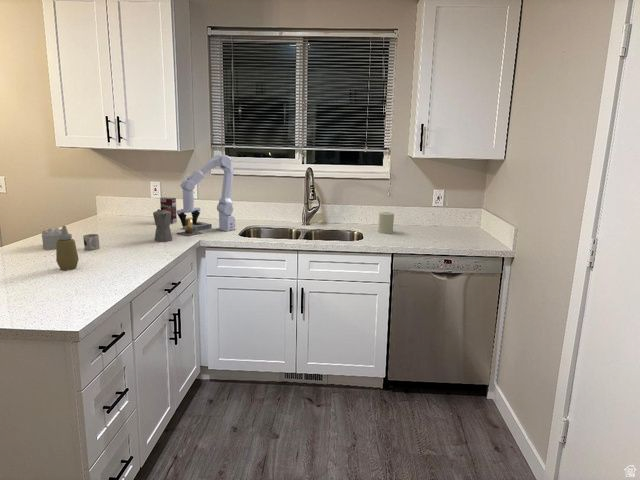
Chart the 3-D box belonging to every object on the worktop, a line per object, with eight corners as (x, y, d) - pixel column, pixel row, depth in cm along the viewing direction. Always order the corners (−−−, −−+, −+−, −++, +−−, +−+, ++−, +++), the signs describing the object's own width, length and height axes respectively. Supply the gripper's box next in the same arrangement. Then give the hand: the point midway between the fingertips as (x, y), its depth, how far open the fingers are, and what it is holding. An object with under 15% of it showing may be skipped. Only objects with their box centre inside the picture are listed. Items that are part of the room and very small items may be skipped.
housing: (211, 228, 272) (211, 224, 271) (195, 231, 263) (195, 226, 262) (199, 225, 279) (199, 221, 278) (182, 228, 270) (182, 224, 269)
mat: (202, 233, 257) (202, 232, 257) (187, 236, 249) (187, 235, 249) (191, 230, 263) (191, 230, 263) (176, 233, 255) (176, 232, 255)
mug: (85, 247, 220) (84, 234, 218) (100, 246, 222) (99, 233, 221) (82, 252, 211) (81, 238, 209) (98, 251, 213) (97, 238, 211)
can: (392, 230, 278) (393, 211, 276) (393, 233, 269) (394, 214, 267) (377, 230, 279) (378, 211, 276) (378, 233, 270) (379, 213, 268)
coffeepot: (176, 241, 236) (174, 207, 232) (157, 243, 231) (155, 209, 227) (168, 236, 249) (166, 203, 244) (150, 237, 243) (148, 204, 239)
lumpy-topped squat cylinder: (43, 250, 212) (41, 232, 210) (42, 244, 223) (40, 227, 221) (68, 248, 218) (66, 230, 216) (66, 242, 228) (64, 226, 226)
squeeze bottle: (74, 264, 191) (70, 223, 187) (82, 268, 186) (78, 226, 182) (53, 268, 185) (49, 225, 181) (62, 272, 180) (57, 228, 176)
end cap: (194, 232, 256) (194, 219, 254) (187, 233, 253) (186, 219, 251) (191, 231, 259) (190, 217, 257) (183, 232, 256) (183, 218, 255)
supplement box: (161, 222, 284) (159, 198, 280) (165, 221, 288) (164, 197, 285) (172, 224, 281) (171, 198, 278) (177, 222, 286) (176, 197, 282)
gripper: (194, 199, 260) (195, 222, 263) (172, 201, 249) (174, 225, 252) (202, 200, 256) (203, 224, 259) (180, 203, 245) (181, 227, 248)
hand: (189, 225), depth 255 cm, fingers open, 7 cm apart
